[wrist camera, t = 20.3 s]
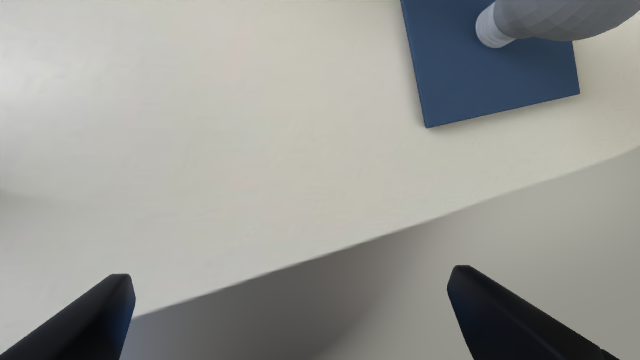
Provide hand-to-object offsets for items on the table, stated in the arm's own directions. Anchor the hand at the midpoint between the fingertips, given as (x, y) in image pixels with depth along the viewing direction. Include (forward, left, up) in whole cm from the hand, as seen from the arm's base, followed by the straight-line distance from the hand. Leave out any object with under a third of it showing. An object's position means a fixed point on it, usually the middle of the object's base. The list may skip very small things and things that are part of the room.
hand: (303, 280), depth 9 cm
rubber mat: (+9, -15, -13) cm, 22 cm away
